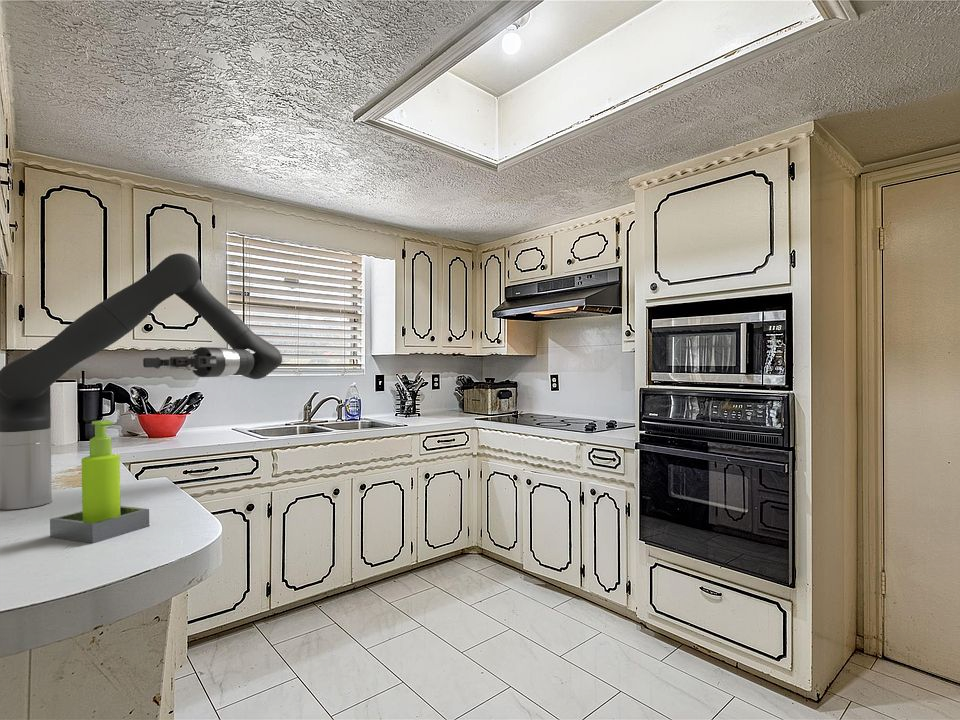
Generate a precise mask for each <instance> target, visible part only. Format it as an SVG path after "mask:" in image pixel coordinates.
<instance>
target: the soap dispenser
mask: <svg viewBox="0 0 960 720" xmlns="http://www.w3.org/2000/svg"><path fill="white" fill-rule="evenodd" d="M91 425H92V426H94V436H93V437H92V438H89V456H88V455H87V456H85V457H83V458H81V501H82V502H81V507H82V508H81V511H82V518H83V521H85V522H93V523H94V522H98V521H102V520H106V519H109V518H113V517H117V516H121V513H120V506H121V470H120V469H121V467H120V466H121V465H120V464H121V462H120V461H121V460H120V454H115V453H112V449H113V448H112V437H111V436H109V435H107V427H108V426H109V427H110V426H114V425H115V423H114V422H113V421H111V420H109V419H103V420H92V421H91Z"/></svg>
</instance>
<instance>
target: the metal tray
mask: <svg viewBox="0 0 960 720" xmlns="http://www.w3.org/2000/svg"><path fill="white" fill-rule="evenodd" d="M120 513H121V516H117V517H113V518H109V519H106V520H102V521H98V522H94V523H93V522H85V521H83V518H82V510H81V511H78V512H77V511H76V512H73V513H68V514H66V515H60V516H57V517H52V518H50V519H49V538H54V539H60V540H69V541H76V542H83V543H89V544H95V543H98V542H101V541H104V540H108V539H111V538H114V537H119V536H120V535H124V534H128V533H130V532H134V531H138V530H141V529H144V528H148V527H150V509H149V508H146V507H145V508H144V507H135V506H134V507H133V506H123V505H120Z"/></svg>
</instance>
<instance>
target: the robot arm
mask: <svg viewBox="0 0 960 720" xmlns="http://www.w3.org/2000/svg"><path fill="white" fill-rule="evenodd" d="M200 277H201V268H200V264H199V262H198V261H197V260H196V258H194V257H193V256H191V255H190V254H186V253H173V254H169V255H168V256H167V257H165V258H164V259H163V260H161V261H160V262H159V263H158V264H156V266H155V267H153V268H152V269H151V270H150V271H148V272H147V273H146V274H145V275H144V276H143V277H141V278H140V279H138V280H137V281H135V282H134V283H132V284H130V285H128V286H126V287H124V288H122V289H121V290H119V291H117V292H116V293H114V294H112V295H111V296H109V297H108V298H106V299H104V300H103V301H101V302H99V303H98V304H96V305H95V306H93V307H92V308H90V309H89V310H87V311H86V312H84V313H83V314H82V315H80V316H79V317H78V318H76V319H75V320H73V322H71V323H70V324H69V325H67V326H66V327H65V328H64V329H63V330H61V332H60V333H58V334H57V335H56V336H55V337H53V338H52V339H51V340H49V341H48V342H46V343H44V344H43V345H40V347H38V348H36V349H34V350H32V351H31V352H29V353H27V354H25V355H23V356H21V357H19V358H17V359H15V360H13V361H10V362H9V363H6V365H4V366H3V367H1V369H0V510H8V511H9V510H19V509H21V510H22V509H27V508H28V509H29V508H35V507H38V506H44V505H47V504H49V503H51V502H52V501H53V495H52V494H53V493H52V491H53V490H52V441H51V439H52V437H51V433H52V432H51V430H52V429H51V428H52V426H51V425H52V424H51V421H52V420H51V419H52V413H51V412H52V411H51V406H52V405H51V386H52V385H53V384H54V383H55V382H57V380H59V379H60V378H61V377H62V376H64V375H65V374H67V372H68V371H69V370H71V369H73V368H74V367H75V366H76V365H78V364H79V363H81V362H83V361H85V360H87V359H89V358H90V357H92V356H94V355H96V354H98V353H100V352H102V351H104V349H106V348H108V347H110V346H111V345H113V344H115V343H116V342H117V341H119V340H121V339H122V338H123V337H124V336H126V335H127V334H129V333H130V332H131V331H132V330H133V329H135V328H136V327H137V326H139V324H141V323H142V321H144V320H145V319H146V318H147V317H148V316H149V315H150V314H151V313H152V312H153V311H154V310H155V309H156V308H157V307H159V305H160V304H161V303H163V302H164V301H165V300H168V298H171V297H172V296H173V295H176V296H177V297H178V298H180V300H182V301H183V302H185V303H186V304H187V305H188V306H189V307H191V308H192V309H193V310H194V311H195V312H196V313H197V314H199V316H201V317H202V319H203V320H205V321H206V322H207V324H208V325H209V326H211V328H212V329H213V330H214V331H215V332H216V333H217V334H218V335H219V336H220V337H221V338H222V340H223V341H224V342H225V343H226V344H228V345H229V347H230V348H227V347H213V346H212V347H210V346H200V347H198V348H196V349H194V350H193V352H192V353H191V354H190V353H183V354H182V355H180V354H179V355H178V354H177V355H174V354H173V355H172V354H171V355H169V356H168V357H162V356H157V357H144V358H143V360H142V361H143V364H142V365H143V368H154V369H169V370H171V371H173V370H176V371H177V370H179V371H180V370H182V371H192V373H193V374H194V375H195V376H197V377H199V378H221V377H222V378H224V377H230V376H242V377H246V378H249V379H252V380H260V379H263V378H266V377H267V376H268V375H269V374H271V373H272V372H274V370H276V369H277V368H278V367H280V365H282V363H283V356H282V353H281V352H280V350H279V349H278V348H277V347H276V346H274V345H273V344H271V343H270V342H268V341H267V340H265V339H264V338H262V337H260V336H259V335H258V334H256V333H255V332H253V331H252V329H250V327H248V325H247V324H246V323H245V322H244V320H242V319H241V317H239V316H238V315H237V314H236V313H234V311H232V310H231V309H230V308H228V307H227V306H225V304H223V303H222V302H220V300H218V299H217V298H216V297H215V296H214V295H213V294H212V293H211V292H210V291H209V290H208V288H207V287H206V286H205V285H204V283H203V282H202V281H201V279H200ZM249 350H250V351H252V352H253V353H252V352H250V351H249Z"/></svg>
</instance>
